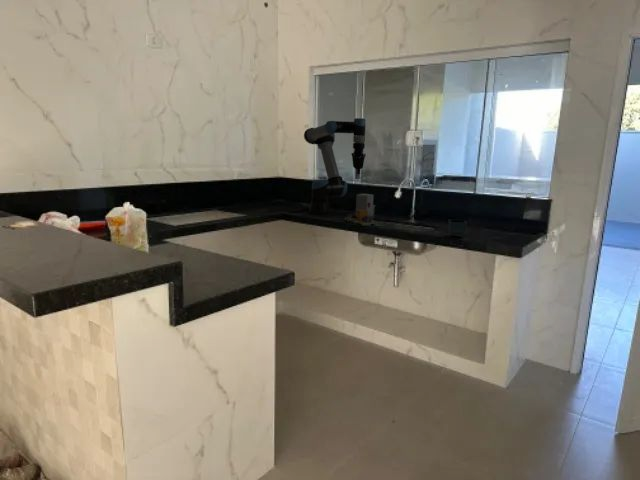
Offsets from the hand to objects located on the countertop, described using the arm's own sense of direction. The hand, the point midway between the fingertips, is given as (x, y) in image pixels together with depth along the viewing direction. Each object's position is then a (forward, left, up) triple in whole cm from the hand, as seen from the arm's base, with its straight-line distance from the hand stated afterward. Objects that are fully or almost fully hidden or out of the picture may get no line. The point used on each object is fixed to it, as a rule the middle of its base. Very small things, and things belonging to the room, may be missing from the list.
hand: (357, 178), depth 300 cm
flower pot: (+72, +18, -27) cm, 79 cm away
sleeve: (+15, -6, -25) cm, 29 cm away
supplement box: (-4, +10, -27) cm, 29 cm away
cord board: (+14, -6, -26) cm, 30 cm away
